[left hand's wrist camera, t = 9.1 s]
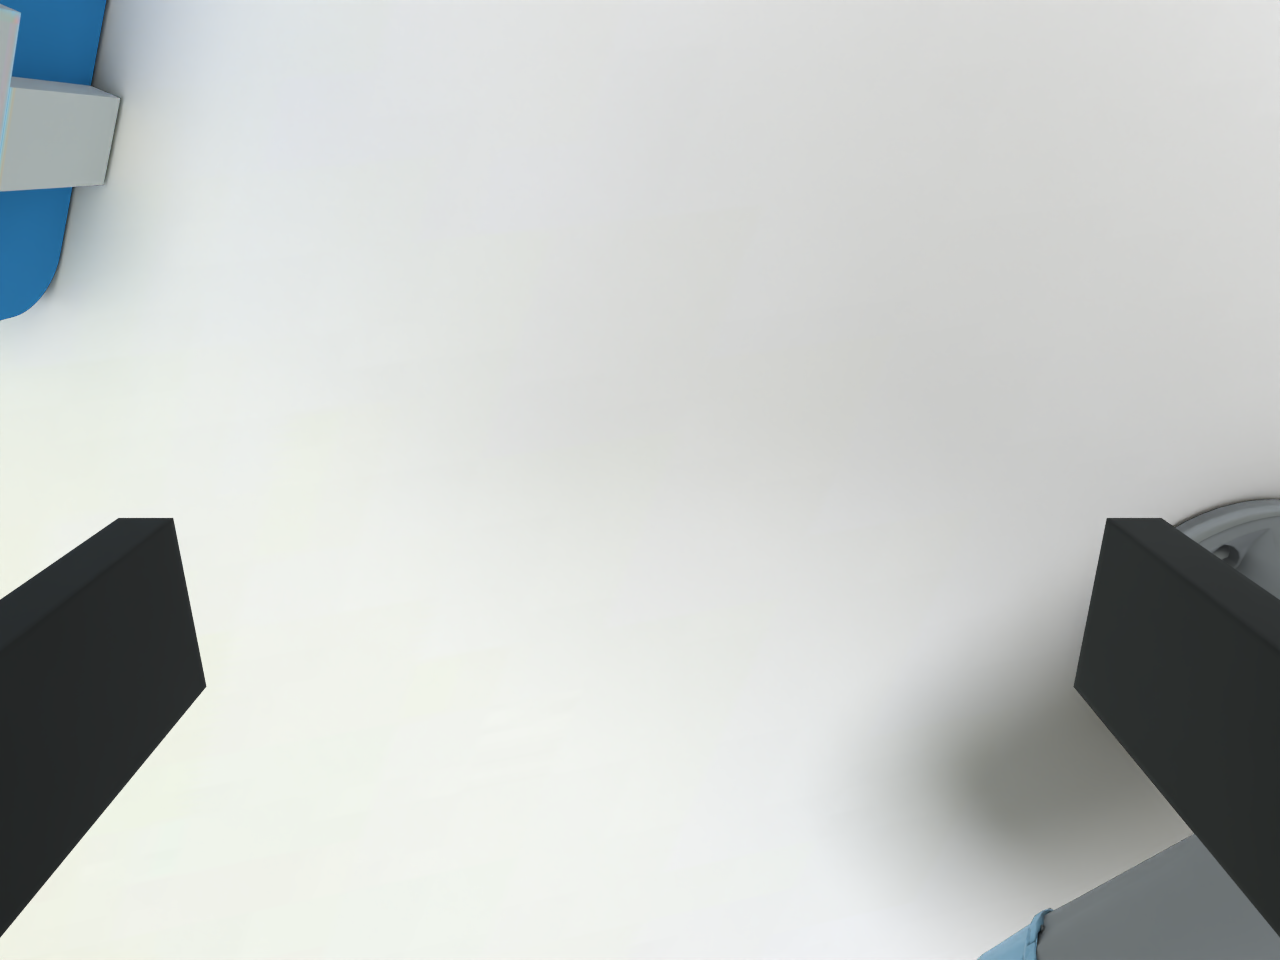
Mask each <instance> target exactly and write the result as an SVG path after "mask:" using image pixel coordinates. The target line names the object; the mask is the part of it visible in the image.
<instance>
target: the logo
mask: <svg viewBox="0 0 1280 960" xmlns="http://www.w3.org/2000/svg"><path fill="white" fill-rule="evenodd" d="M105 5H106V0H0V320H3V319H7V318H11V317H14V316H17V315H20V314H22V313H24V312H25V311H27V310H28V309H30V308H31V307H32V306H33V305H34V304H35V303H36V302H37V301H38V300H39V299H40V298H41V296H42V295H43V294H44V292H45V291H46V289H47V288H48V286H49V284H50V283H51V281H52V278H53V276H54V274H55V271H56V269H57V265H58V262H59V258H60V253H61V247H62V242H63V236H64V231H65V225H66V220H67V214H68V209H69V203H70V198H71V192H72V187H79V186H94V185H104V180H105V175H106V170H107V165H108V159H109V154H110V149H111V144H112V139H113V134H114V129H115V124H116V119H117V114H118V109H119V104H120V98H119V97H116V96H114V95H112V94H109V93H107V92H104V91H102V90H100V89H97V88H95V87H93V86H91V82H92V77H93V71H94V66H95V60H96V55H97V49H98V44H99V38H100V33H101V27H102V22H103V16H104V11H105Z"/></svg>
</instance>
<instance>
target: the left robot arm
mask: <svg viewBox="0 0 1280 960" xmlns="http://www.w3.org/2000/svg"><path fill="white" fill-rule="evenodd" d="M205 688H206V683H205V677H204V672H203V667H202V662H201V657H200V652H199V647H198V642H197V637H196V632H195V627H194V622H193V617H192V611H191V606H190V601H189V596H188V591H187V586H186V581H185V576H184V571H183V566H182V561H181V556H180V551H179V545H178V540H177V535H176V530H175V525H174V520H173V518H118V519H117V520H115V521H114V522H112V523H111V524H109V525H108V526H106V527H105V528H104V529H102V530H101V531H99V532H98V533H96V534H95V535H93V536H92V537H91V538H89V539H88V540H86V541H85V542H83V543H82V544H80V545H79V546H78V547H76V548H75V549H73V550H72V551H70V552H69V553H67V554H66V555H64V556H63V557H62V558H60V559H59V560H57V561H56V562H54V563H53V564H51V565H50V566H49V567H47V568H46V569H44V570H43V571H41V572H40V573H38V574H37V575H35V576H34V577H33V578H31V579H30V580H28V581H27V582H25V583H24V584H22V585H21V586H20V587H18V588H17V589H15V590H14V591H12V592H11V593H9V594H8V595H6V596H5V597H4V598H2V599H1V600H0V937H1V936H2V935H3V933H4V932H5V931H6V930H7V929H8V927H9V926H10V925H11V924H12V923H13V921H14V920H15V919H16V918H17V916H18V915H19V914H20V913H21V912H22V910H23V909H24V908H25V907H26V905H27V904H28V903H29V902H30V901H31V899H32V898H33V897H34V896H35V895H36V893H37V892H38V891H39V890H40V888H41V887H42V886H43V885H44V884H45V882H46V881H47V880H48V879H49V877H50V876H51V875H52V874H53V873H54V871H55V870H56V869H57V868H58V867H59V865H60V864H61V863H62V862H63V860H64V859H65V858H66V857H67V856H68V854H69V853H70V852H71V851H72V849H73V848H74V847H75V846H76V845H77V843H78V842H79V841H80V840H81V839H82V837H83V836H84V835H85V834H86V832H87V831H88V830H89V829H90V828H91V826H92V825H93V824H94V823H95V821H96V820H97V819H98V818H99V817H100V815H101V814H102V813H103V812H104V811H105V809H106V808H107V807H108V806H109V804H110V803H111V802H112V801H113V800H114V798H115V797H116V796H117V795H118V793H119V792H120V791H121V790H122V789H123V787H124V786H125V785H126V784H127V783H128V781H129V780H130V779H131V778H132V776H133V775H134V774H135V773H136V772H137V770H138V769H139V768H140V767H141V765H142V764H143V763H144V762H145V761H146V759H147V758H148V757H149V756H150V754H151V753H152V752H153V751H154V750H155V748H156V747H157V746H158V745H159V744H160V742H161V741H162V740H163V739H164V737H165V736H166V735H167V734H168V733H169V731H170V730H171V729H172V728H173V726H174V725H175V724H176V723H177V722H178V720H179V719H180V718H181V717H182V716H183V714H184V713H185V712H186V711H187V709H188V708H189V707H190V706H191V705H192V703H193V702H194V701H195V700H196V698H197V697H198V696H199V695H200V694H201V692H202V691H203V690H204V689H205ZM1074 688H1075V689H1076V690H1077V691H1078V692H1079V694H1080V695H1081V696H1082V697H1083V698H1084V700H1085V701H1086V702H1087V703H1088V705H1089V706H1090V707H1091V708H1092V709H1093V711H1094V712H1095V713H1096V714H1097V716H1098V717H1099V718H1100V719H1101V720H1102V722H1103V723H1104V724H1105V725H1106V726H1107V728H1108V729H1109V730H1110V731H1111V733H1112V734H1113V735H1114V736H1115V737H1116V739H1117V740H1118V741H1119V742H1120V744H1121V745H1122V746H1123V747H1124V748H1125V750H1126V751H1127V752H1128V753H1129V754H1130V756H1131V757H1132V758H1133V759H1134V761H1135V762H1136V763H1137V764H1138V765H1139V767H1140V768H1141V769H1142V770H1143V772H1144V773H1145V774H1146V775H1147V776H1148V778H1149V779H1150V780H1151V781H1152V783H1153V784H1154V785H1155V786H1156V787H1157V789H1158V790H1159V791H1160V792H1161V793H1162V795H1163V796H1164V797H1165V798H1166V800H1167V801H1168V802H1169V803H1170V804H1171V806H1172V807H1173V808H1174V809H1175V811H1176V812H1177V813H1178V814H1179V815H1180V817H1181V818H1182V819H1183V820H1184V821H1185V823H1186V824H1187V825H1188V826H1189V828H1190V829H1191V830H1192V831H1193V832H1194V834H1193V835H1191V836H1189V837H1188V838H1186V839H1184V840H1182V841H1180V842H1179V843H1177V844H1175V845H1173V846H1171V847H1169V848H1168V849H1166V850H1164V851H1162V852H1160V853H1158V854H1157V855H1155V856H1153V857H1151V858H1149V859H1148V860H1146V861H1144V862H1142V863H1140V864H1138V865H1137V866H1135V867H1133V868H1131V869H1129V870H1128V871H1126V872H1124V873H1122V874H1120V875H1118V876H1117V877H1115V878H1113V879H1111V880H1109V881H1108V882H1106V883H1104V884H1102V885H1100V886H1098V887H1097V888H1095V889H1093V890H1091V891H1089V892H1088V893H1086V894H1084V895H1082V896H1080V897H1078V898H1077V899H1075V900H1073V901H1071V902H1069V903H1067V904H1065V905H1063V906H1061V907H1059V908H1058V909H1056V910H1053V909H1051V908H1049V909H1046V910H1043V911H1041V912H1040V913H1038V914H1037V915H1035V916H1034V918H1033V920H1032V922H1031V924H1029V925H1028V926H1026V927H1025V928H1023V929H1021V930H1020V931H1018V932H1017V933H1015V934H1014V935H1012V936H1011V937H1009V938H1008V939H1006V940H1004V941H1003V942H1001V943H1000V944H998V945H997V946H995V947H994V948H992V949H990V950H989V951H987V952H985V953H984V954H982V955H981V956H980V957H979V958H978V959H977V960H1280V499H1263V500H1254V501H1246V502H1241V503H1236V504H1231V505H1228V506H1224V507H1221V508H1217V509H1214V510H1212V511H1209V512H1206V513H1204V514H1201V515H1199V516H1197V517H1195V518H1192V519H1190V520H1188V521H1186V522H1184V523H1183V524H1181V525H1179V526H1177V527H1174V526H1172V525H1171V524H1169V523H1168V522H1166V521H1165V520H1163V519H1162V518H1107V520H1106V525H1105V530H1104V535H1103V540H1102V545H1101V551H1100V556H1099V561H1098V566H1097V571H1096V576H1095V581H1094V586H1093V591H1092V596H1091V601H1090V606H1089V611H1088V617H1087V622H1086V627H1085V632H1084V637H1083V642H1082V647H1081V652H1080V657H1079V662H1078V667H1077V672H1076V677H1075V683H1074Z"/></svg>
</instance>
